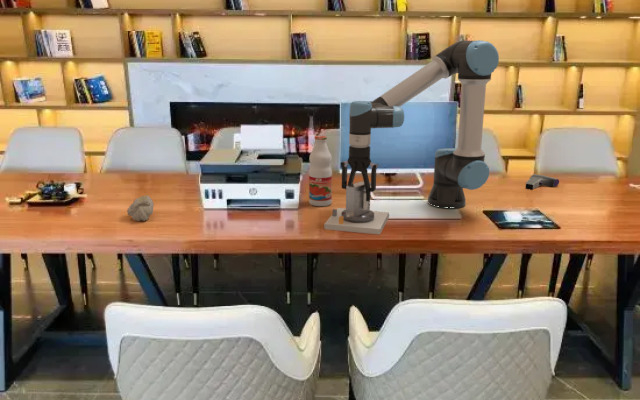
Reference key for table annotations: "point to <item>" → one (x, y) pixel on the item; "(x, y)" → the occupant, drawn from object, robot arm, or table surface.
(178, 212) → the table surface
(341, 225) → the dial plate
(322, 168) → the fruit juice
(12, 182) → the table surface
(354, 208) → the dial knob
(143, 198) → the fossil replica
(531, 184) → the infrared thermometer
